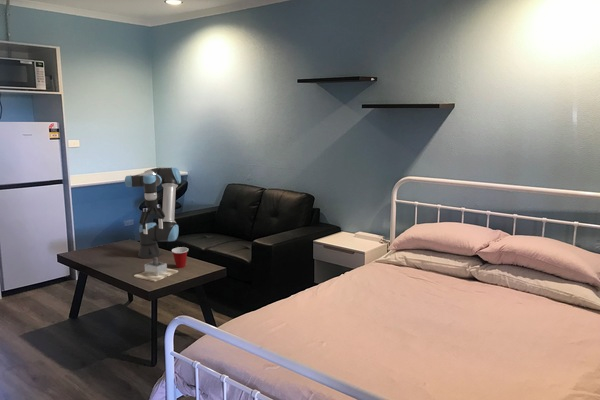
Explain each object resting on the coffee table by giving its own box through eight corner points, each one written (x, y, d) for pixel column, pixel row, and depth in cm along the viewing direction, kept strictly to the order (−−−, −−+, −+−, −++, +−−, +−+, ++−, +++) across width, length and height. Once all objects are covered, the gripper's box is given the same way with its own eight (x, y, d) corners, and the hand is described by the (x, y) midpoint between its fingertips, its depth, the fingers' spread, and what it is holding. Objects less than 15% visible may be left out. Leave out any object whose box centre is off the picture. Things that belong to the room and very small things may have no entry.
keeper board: (157, 267, 312) (156, 251, 310) (178, 272, 303) (177, 254, 301) (133, 276, 294) (132, 259, 292) (155, 281, 286) (153, 263, 284)
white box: (154, 269, 305) (153, 260, 304) (167, 272, 300) (166, 263, 298) (145, 273, 298) (144, 264, 297) (157, 276, 293) (157, 266, 292)
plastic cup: (172, 270, 307) (171, 252, 305) (172, 265, 317) (171, 247, 315) (189, 268, 310) (188, 250, 308) (188, 263, 320) (187, 246, 318)
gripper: (140, 203, 287) (143, 237, 292) (169, 195, 309) (171, 227, 313) (131, 202, 291) (134, 235, 295) (160, 194, 312) (162, 225, 317)
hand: (153, 231), depth 304 cm, fingers open, 13 cm apart
